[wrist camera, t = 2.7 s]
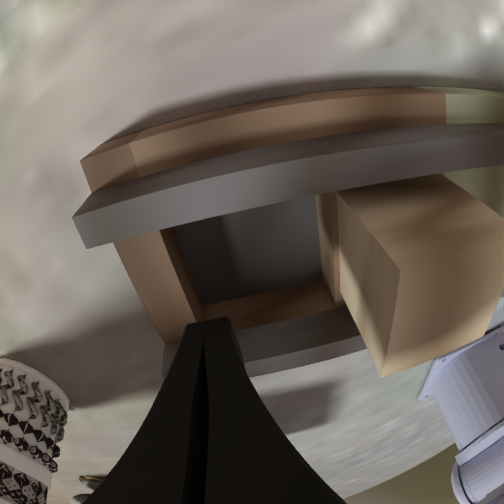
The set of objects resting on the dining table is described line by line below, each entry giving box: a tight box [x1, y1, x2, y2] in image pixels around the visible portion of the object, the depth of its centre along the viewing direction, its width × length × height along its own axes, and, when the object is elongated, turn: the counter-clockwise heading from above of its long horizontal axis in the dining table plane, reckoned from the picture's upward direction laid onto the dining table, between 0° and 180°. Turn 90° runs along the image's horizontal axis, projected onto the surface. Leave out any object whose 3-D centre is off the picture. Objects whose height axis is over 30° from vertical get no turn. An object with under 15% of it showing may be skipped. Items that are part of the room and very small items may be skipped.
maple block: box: [336, 174, 504, 378], centre depth 11 cm, size 5×5×5 cm
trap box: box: [72, 86, 504, 379], centre depth 13 cm, size 32×12×4 cm, turn 101°
